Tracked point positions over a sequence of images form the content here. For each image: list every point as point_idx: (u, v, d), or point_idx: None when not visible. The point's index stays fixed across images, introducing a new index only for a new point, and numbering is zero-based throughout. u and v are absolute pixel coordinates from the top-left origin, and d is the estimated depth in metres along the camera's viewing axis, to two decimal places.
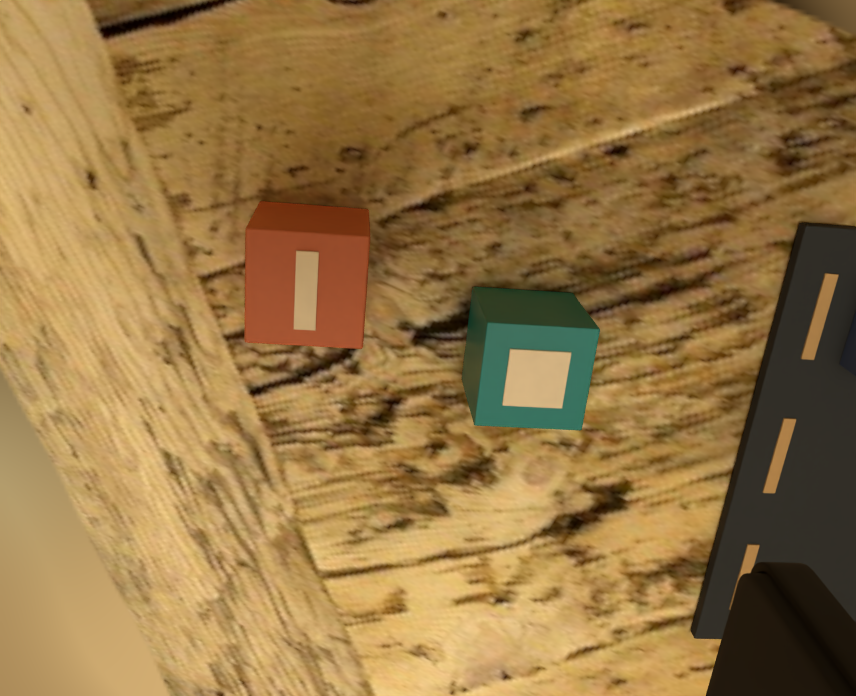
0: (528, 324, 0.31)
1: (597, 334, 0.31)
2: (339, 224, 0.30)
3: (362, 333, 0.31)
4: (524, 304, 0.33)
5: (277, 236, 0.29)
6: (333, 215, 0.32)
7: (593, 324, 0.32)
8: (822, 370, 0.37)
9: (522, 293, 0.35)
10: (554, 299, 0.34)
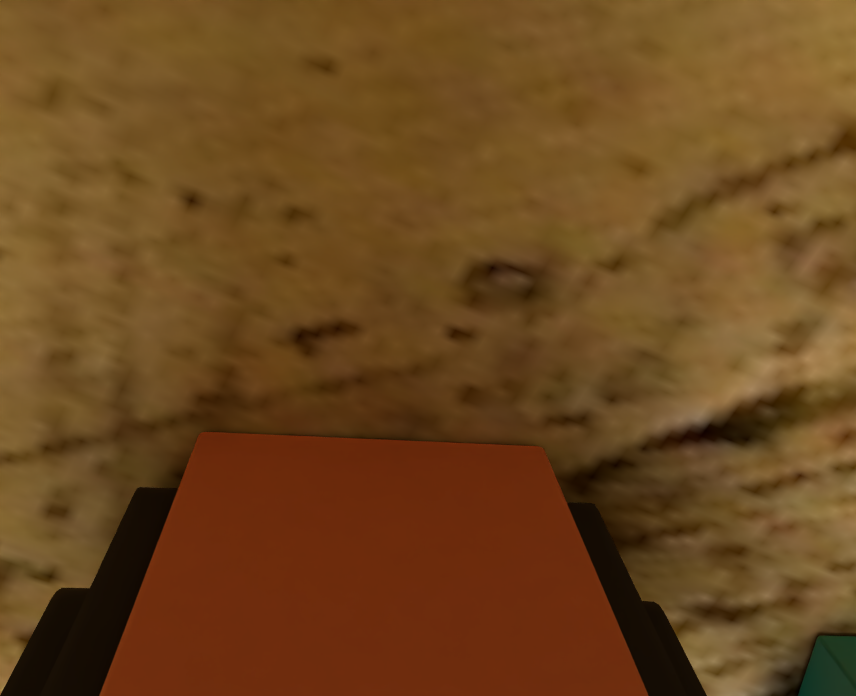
0: None
1: None
2: (493, 591, 0.08)
3: None
4: None
5: None
6: (452, 511, 0.09)
7: None
8: None
9: None
10: None
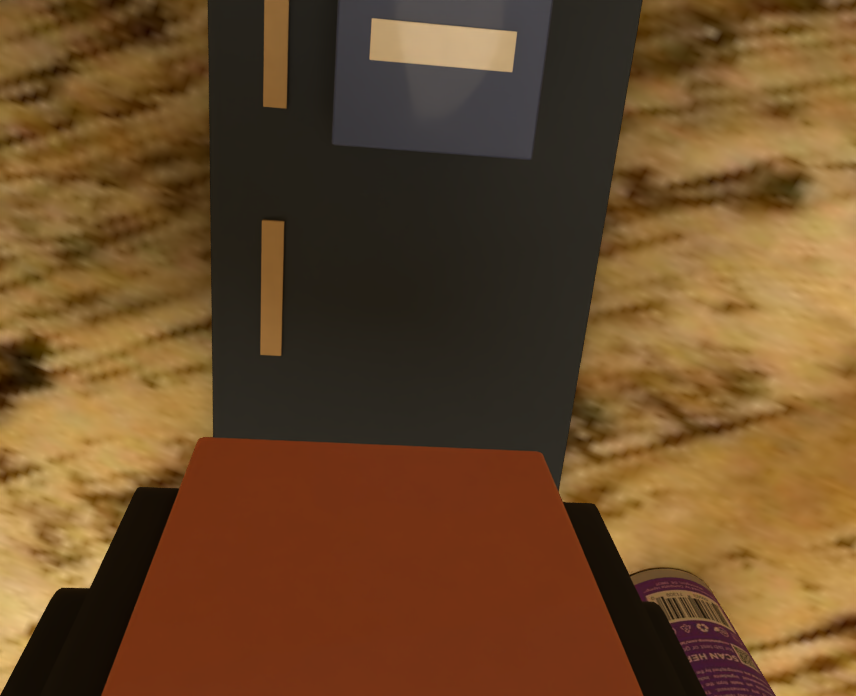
0: None
1: None
2: (492, 598, 0.08)
3: None
4: None
5: None
6: (450, 517, 0.09)
7: None
8: (308, 131, 0.22)
9: None
10: None
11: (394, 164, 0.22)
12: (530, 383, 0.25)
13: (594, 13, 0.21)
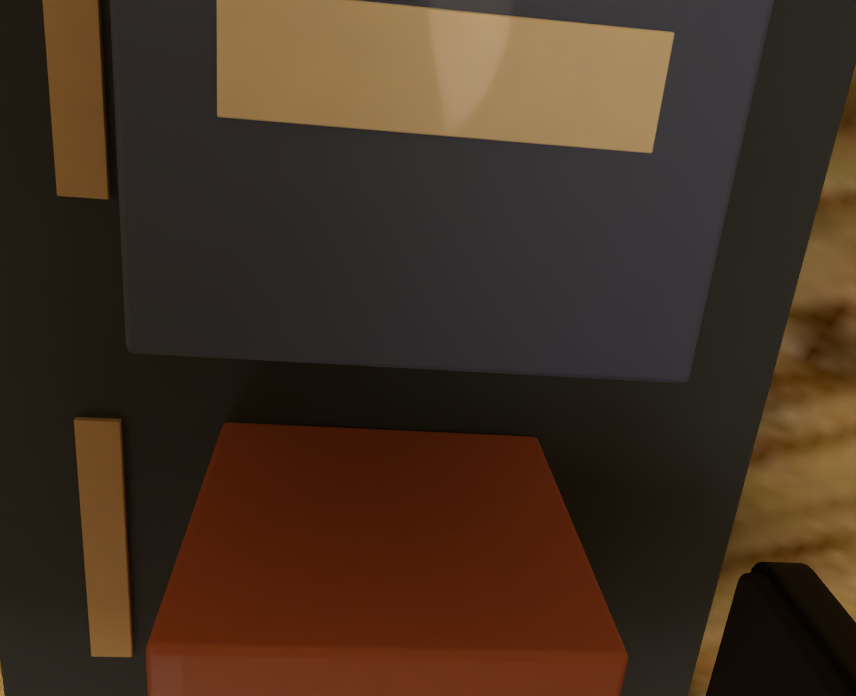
0: None
1: None
2: (489, 560, 0.09)
3: None
4: None
5: (273, 670, 0.07)
6: (453, 492, 0.10)
7: None
8: None
9: None
10: None
11: None
12: None
13: None
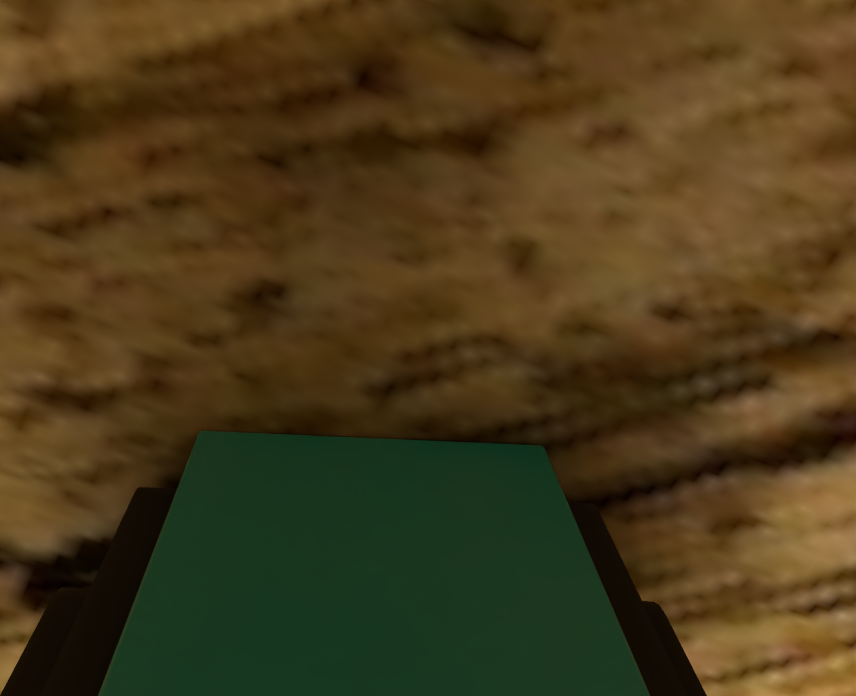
0: None
1: None
2: None
3: None
4: (345, 531, 0.08)
5: None
6: None
7: (623, 665, 0.07)
8: None
9: (364, 461, 0.10)
10: (474, 487, 0.09)
11: None
12: None
13: None
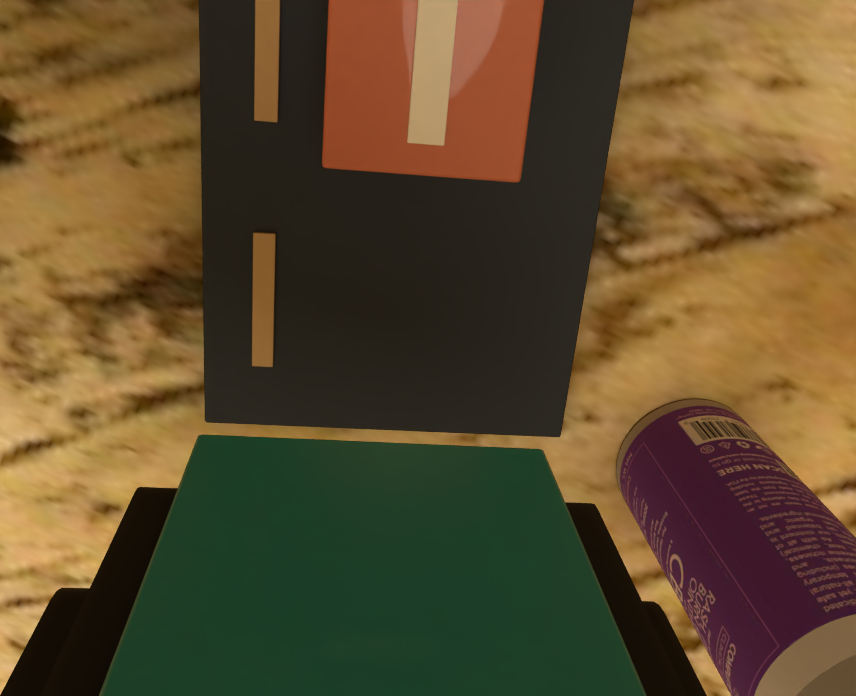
0: None
1: None
2: None
3: (522, 153, 0.18)
4: (344, 535, 0.08)
5: None
6: None
7: (622, 671, 0.07)
8: None
9: (363, 464, 0.10)
10: (473, 491, 0.09)
11: None
12: (554, 164, 0.23)
13: None
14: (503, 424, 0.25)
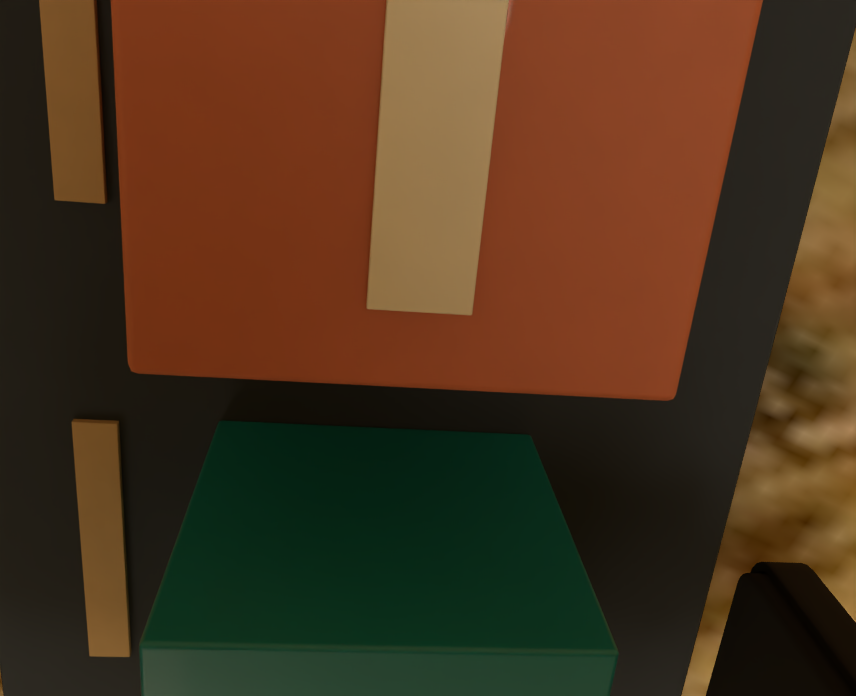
0: (317, 643, 0.07)
1: (609, 670, 0.08)
2: None
3: (687, 330, 0.06)
4: (352, 506, 0.10)
5: None
6: None
7: (592, 617, 0.08)
8: None
9: (367, 447, 0.11)
10: (466, 471, 0.11)
11: None
12: None
13: None
14: None
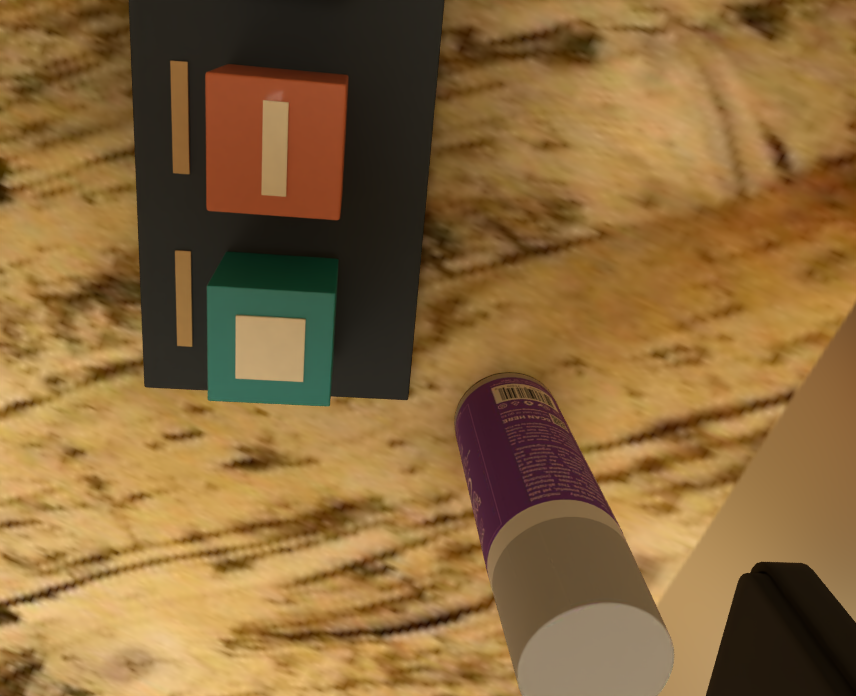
0: (253, 287, 0.28)
1: (332, 299, 0.29)
2: (313, 77, 0.27)
3: (339, 201, 0.27)
4: (268, 269, 0.30)
5: (241, 82, 0.26)
6: (307, 74, 0.28)
7: (331, 288, 0.29)
8: None
9: (277, 258, 0.32)
10: (309, 264, 0.31)
11: (271, 17, 0.29)
12: (388, 203, 0.32)
13: None
14: (364, 390, 0.35)
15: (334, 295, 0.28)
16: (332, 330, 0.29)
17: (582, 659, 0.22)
